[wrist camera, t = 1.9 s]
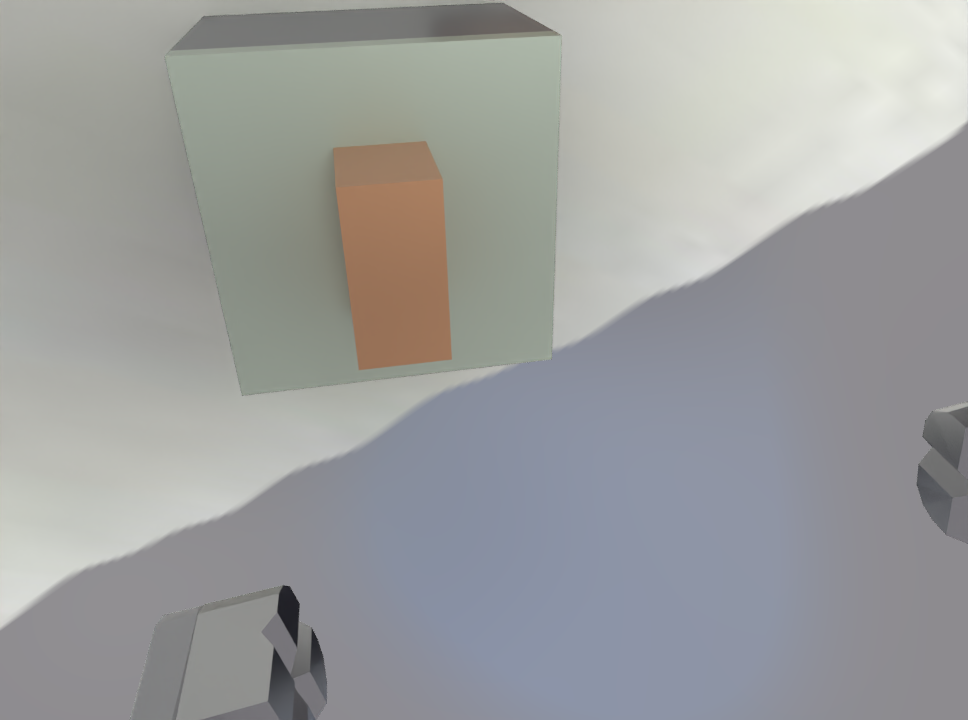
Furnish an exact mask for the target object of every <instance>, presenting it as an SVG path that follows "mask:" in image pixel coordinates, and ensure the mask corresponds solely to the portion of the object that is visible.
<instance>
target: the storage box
mask: <svg viewBox="0 0 968 720" xmlns="http://www.w3.org/2000/svg"><path fill="white" fill-rule="evenodd" d="M540 31H553V30H551V29H549V28H548V27H546V26H544V25H542V24H540V23H539V22H537V21H535V20H533V19H531V18H530V17H528V16H526V15H524V14H522V13H521V12H519V11H517V10H515V9H513V8H512V7H510V6H508V5H506V4H504V3H487V4H465V5H443V6H422V7H400V8H378V9H356V10H334V11H312V12H290V13H268V14H246V15H224V16H204V17H203V18H202V19H201V20H200V21H199V22H198V23H197V24H196V25H195V26H194V27H193V28H192V29H191V30H190V31H189V32H188V33H187V34H186V35H185V36H184V37H183V38H182V39H181V40H180V41H179V42H178V43H177V44H176V45H175V46H174V47H173V48H172V49H171V50H170V51H173V50H192V49H212V48H231V47H250V46H270V45H289V44H308V43H328V42H347V41H366V40H386V39H405V38H424V37H443V36H463V35H482V34H501V33H521V32H540Z"/></svg>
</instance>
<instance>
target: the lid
mask: <svg viewBox="0 0 968 720" xmlns="http://www.w3.org/2000/svg"><path fill="white" fill-rule="evenodd" d="M561 46H562V35H560V34H558V33H557V32H555V31H540V32H521V33H501V34H482V35H463V36H443V37H424V38H405V39H386V40H366V41H347V42H328V43H308V44H289V45H270V46H250V47H231V48H212V49H192V50H173V51H169V52H168V53H167V54H166V55H165V56H164V57H165V61H166V66H167V70H168V74H169V79H170V83H171V87H172V92H173V96H174V101H175V105H176V109H177V114H178V118H179V122H180V127H181V131H182V135H183V140H184V144H185V148H186V153H187V157H188V162H189V166H190V170H191V175H192V179H193V183H194V188H195V192H196V196H197V201H198V205H199V210H200V214H201V218H202V223H203V227H204V231H205V236H206V240H207V244H208V249H209V253H210V258H211V262H212V266H213V271H214V275H215V279H216V284H217V288H218V292H219V297H220V301H221V305H222V310H223V314H224V319H225V323H226V327H227V332H228V336H229V340H230V345H231V349H232V353H233V358H234V362H235V367H236V371H237V375H238V380H239V384H240V388H241V393H242V396H244V395H253V394H261V393H270V392H278V391H287V390H295V389H304V388H312V387H321V386H329V385H338V384H346V383H355V382H363V381H372V380H380V379H389V378H397V377H406V376H414V375H423V374H431V373H440V372H448V371H457V370H465V369H474V368H482V367H491V366H499V365H508V364H516V363H525V362H533V361H542V360H550V359H552V335H553V303H554V271H555V239H556V207H557V174H558V142H559V110H560V78H561Z"/></svg>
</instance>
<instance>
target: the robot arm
mask: <svg viewBox="0 0 968 720" xmlns="http://www.w3.org/2000/svg"><path fill="white" fill-rule="evenodd" d="M923 438H924V439H925V440H926V441H927V442H928V443H929V444H930V445H931V446H932V448H931V449H930V451H929V452H928V453H927V454H926V455H925V457H924V458H923V459H922V460H921V462H920V463H919V464H918V465H919V466H918V477H917V487H918V490H919V493H920V497H921V500H922V503H923V506H924V507H925V509H926V510H927V512H928V514H929V515H930V517H931V519H932V520H933V521H934V522H935V523H936V524H937V526H938V527H939V528H940V529H941V530H942V531H943V532H944V533H945V534H946V535H947V536H950V537H952V538H955V539H957V540H960V541H962V542H965V543H967V544H968V401H967V402H963V403H960V404H956V405H952V406H949V407H945V408H942V409H938V410H934V411H932V412H931V413H930V415H929V416H928V418H927V419H926V420H925V425H924V430H923ZM299 608H300V604H299V602H298V600H297V598H296V596H295V595H294V593H293V591H292V589H291V588H290V586H285V585H282V586H278V587H274V588H270V589H266V590H262V591H257V592H253V593H249V594H245V595H241V596H237V597H232V598H228V599H224V600H220V601H216V602H212V603H208V604H205V605H203V606H199V607H195V608H191V609H187V610H182V611H178V612H174V613H170V614H165V615H164V616H163V617H162V618H161V619H160V621H159V622H158V623H157V624H156V626H155V628H154V632H153V635H152V639H151V643H150V647H149V650H148V654H147V658H146V662H145V666H144V669H143V673H142V677H141V680H140V684H139V688H138V692H137V695H136V699H135V702H134V706H133V710H132V714H131V717H130V720H316V719H317V718H318V716H319V715H320V713H321V712H322V710H323V708H324V707H325V705H326V704H327V679H326V672H325V665H324V658H323V654H322V651H321V648H320V645H319V641H318V639H317V637H316V635H315V633H314V631H313V629H312V627H310V626H308V625H306V624H304V623H302V622H299Z"/></svg>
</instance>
